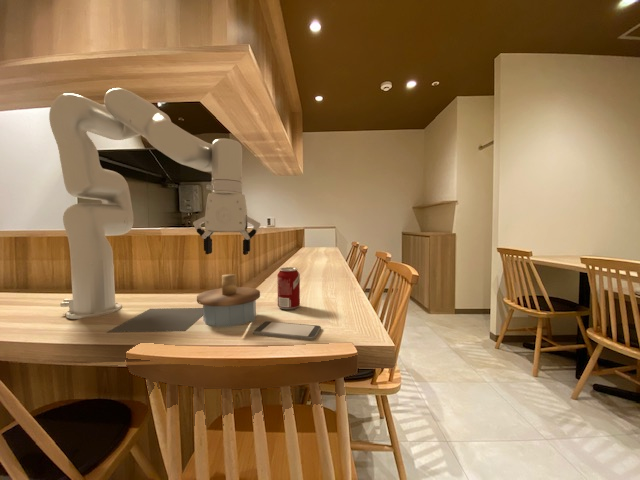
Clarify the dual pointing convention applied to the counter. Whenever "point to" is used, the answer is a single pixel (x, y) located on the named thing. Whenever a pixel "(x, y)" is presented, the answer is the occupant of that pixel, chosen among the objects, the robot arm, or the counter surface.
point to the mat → (161, 320)
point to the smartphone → (288, 330)
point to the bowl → (229, 314)
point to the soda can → (288, 288)
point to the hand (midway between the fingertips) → (227, 254)
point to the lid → (228, 294)
